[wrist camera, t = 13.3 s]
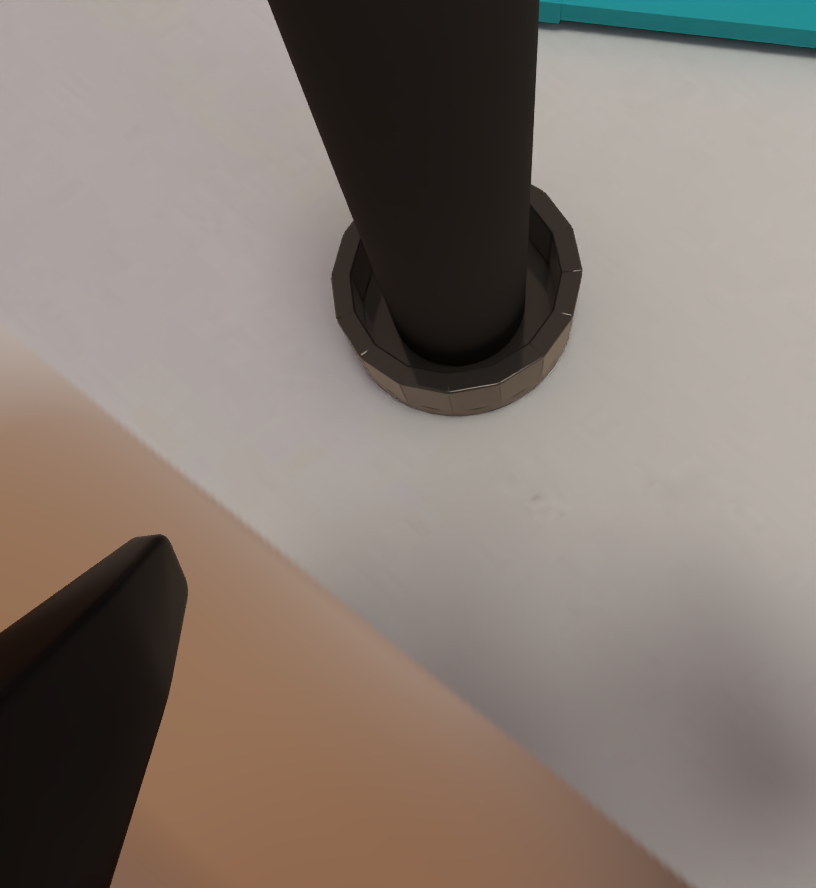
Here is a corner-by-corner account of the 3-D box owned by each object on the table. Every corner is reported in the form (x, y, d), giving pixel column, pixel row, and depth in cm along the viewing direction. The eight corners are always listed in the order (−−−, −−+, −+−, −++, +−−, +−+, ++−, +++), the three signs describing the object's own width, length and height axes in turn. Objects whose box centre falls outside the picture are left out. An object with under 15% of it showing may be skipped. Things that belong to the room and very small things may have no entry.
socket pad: (421, 459, 22) (410, 439, 20) (312, 283, 24) (290, 246, 22) (618, 337, 22) (632, 302, 20) (493, 172, 24) (491, 122, 22)
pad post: (533, 356, 22) (722, -1763, 2) (398, 374, 22) (-356, -1280, 3) (516, 234, 23) (547, -1917, 3) (386, 254, 23) (-218, -1542, 4)
